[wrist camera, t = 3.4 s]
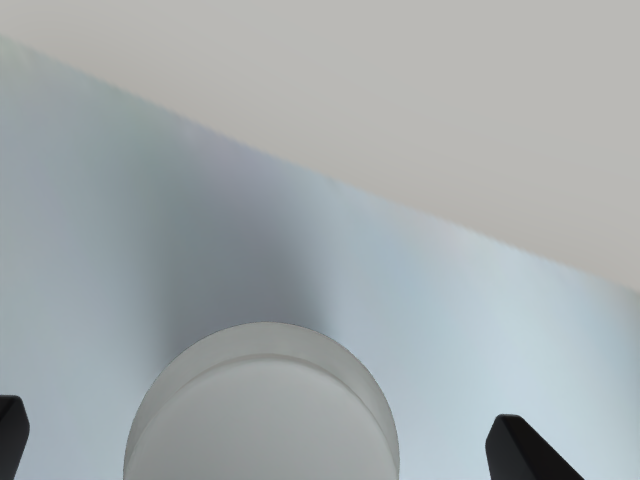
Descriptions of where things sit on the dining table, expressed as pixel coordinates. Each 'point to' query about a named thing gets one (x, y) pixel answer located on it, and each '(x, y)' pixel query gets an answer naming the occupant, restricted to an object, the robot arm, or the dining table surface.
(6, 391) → the dining table surface
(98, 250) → the dining table surface
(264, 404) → the pill bottle
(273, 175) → the dining table surface
